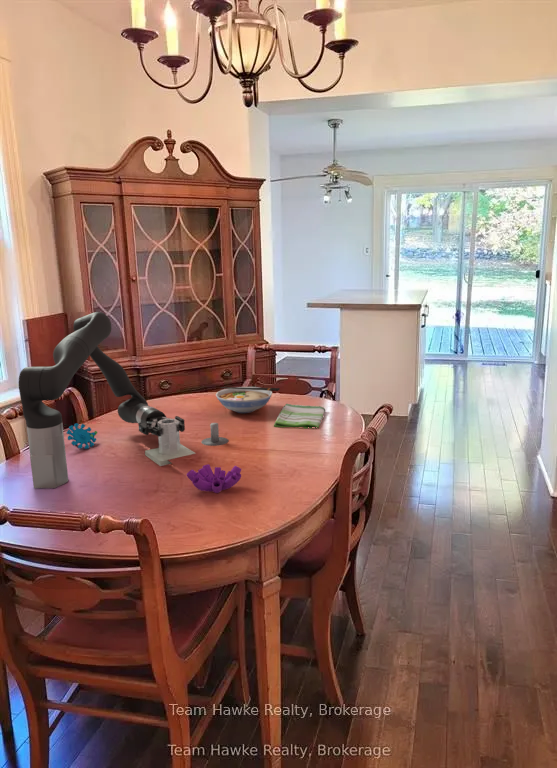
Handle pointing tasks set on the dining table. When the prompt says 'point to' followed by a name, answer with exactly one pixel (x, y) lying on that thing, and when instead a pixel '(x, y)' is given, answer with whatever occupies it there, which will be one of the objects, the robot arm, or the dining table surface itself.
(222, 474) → the pipe connector assembly
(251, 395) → the ramen bowl
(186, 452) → the plate with upright peg
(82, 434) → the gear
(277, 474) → the dining table surface
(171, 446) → the sleeve
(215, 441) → the stand
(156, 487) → the dining table surface
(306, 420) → the dish towel
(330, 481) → the dining table surface
